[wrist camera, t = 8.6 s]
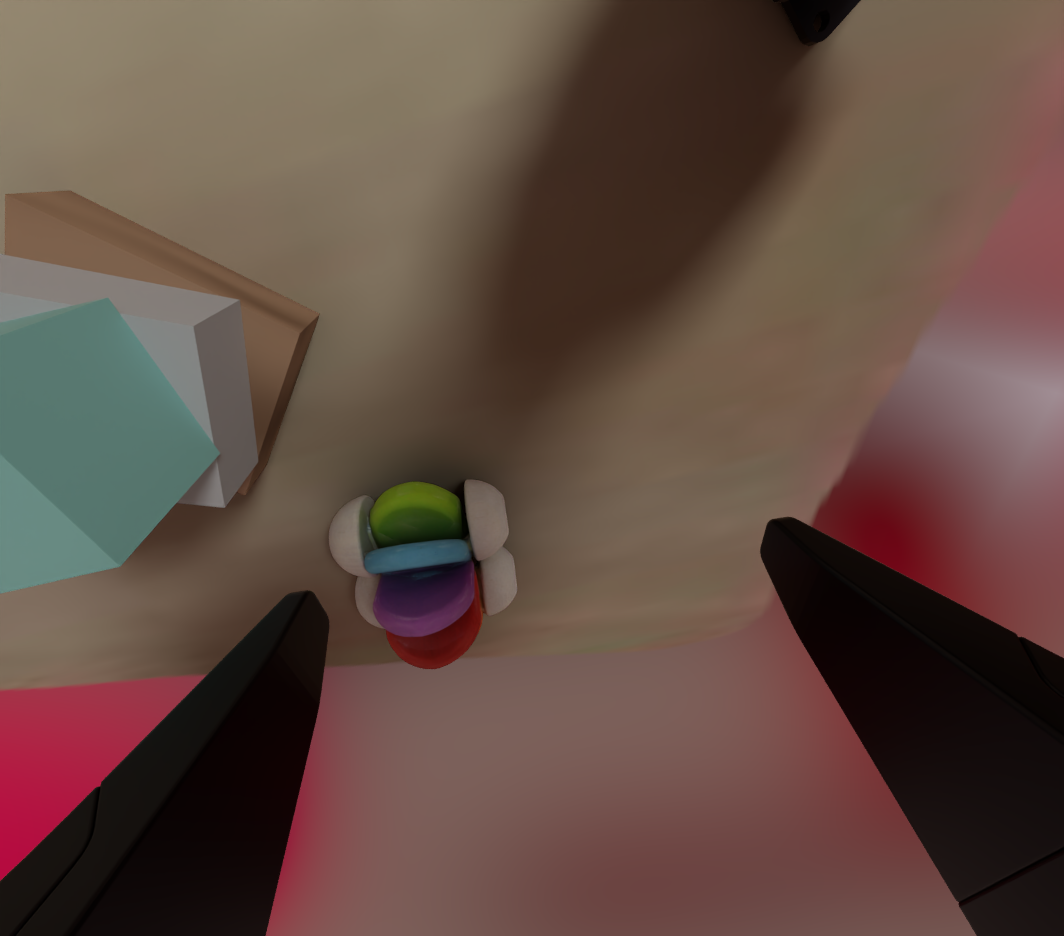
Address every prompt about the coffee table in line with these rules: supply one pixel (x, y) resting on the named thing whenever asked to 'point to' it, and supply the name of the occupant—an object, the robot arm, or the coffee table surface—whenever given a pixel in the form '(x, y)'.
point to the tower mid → (164, 353)
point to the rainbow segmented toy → (427, 565)
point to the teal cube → (86, 444)
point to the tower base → (138, 253)
